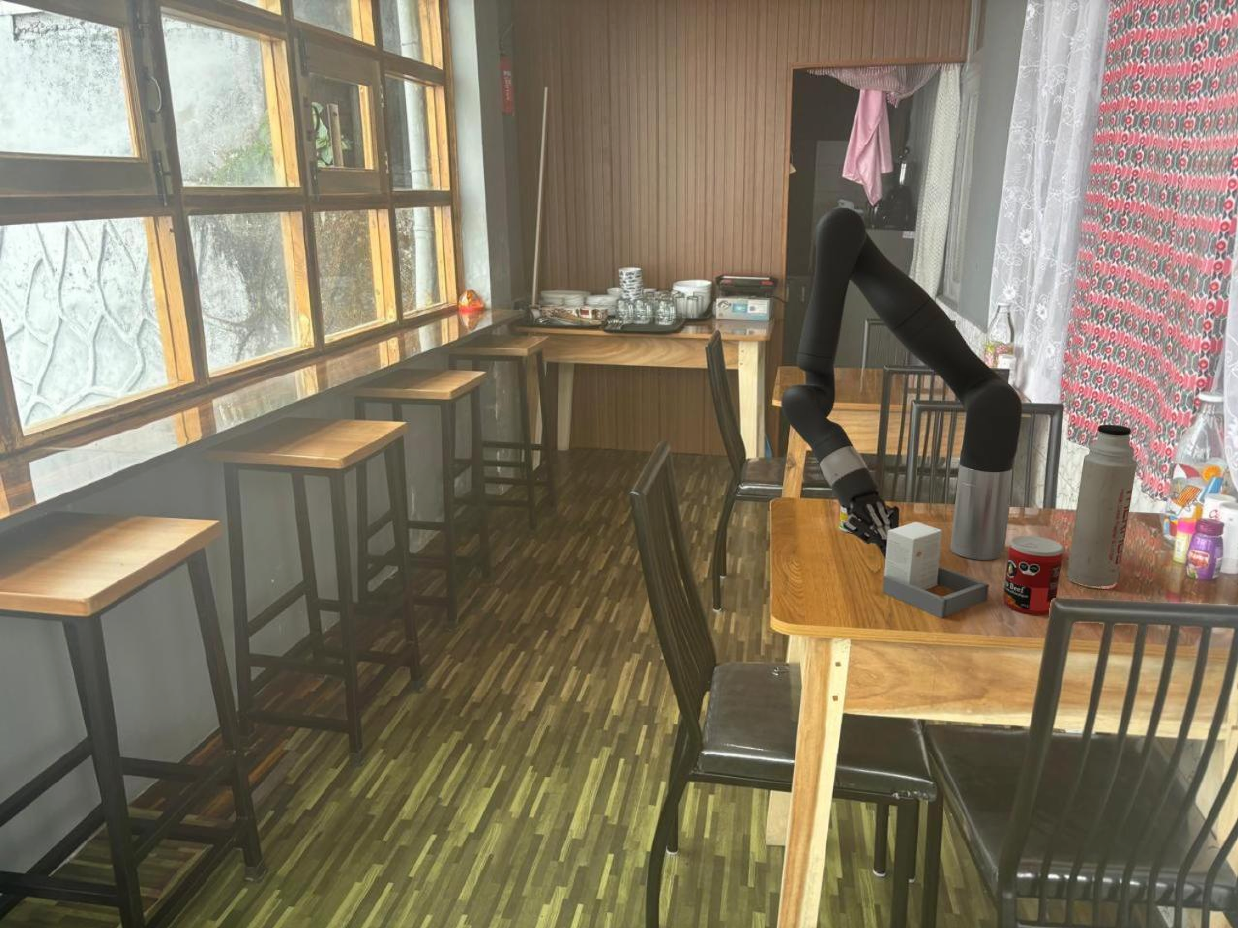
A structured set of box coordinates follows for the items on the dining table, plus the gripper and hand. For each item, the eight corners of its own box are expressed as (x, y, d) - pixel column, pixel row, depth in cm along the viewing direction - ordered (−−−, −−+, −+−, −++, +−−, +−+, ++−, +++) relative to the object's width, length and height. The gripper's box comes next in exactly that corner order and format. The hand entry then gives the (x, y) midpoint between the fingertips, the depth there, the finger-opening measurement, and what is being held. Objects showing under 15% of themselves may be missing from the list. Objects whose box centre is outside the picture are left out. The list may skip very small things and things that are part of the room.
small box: (911, 576, 161) (916, 520, 159) (937, 586, 157) (943, 529, 154) (881, 586, 157) (886, 529, 154) (908, 597, 153) (913, 538, 150)
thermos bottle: (1126, 584, 158) (1152, 429, 150) (1097, 593, 154) (1122, 434, 147) (1085, 568, 165) (1108, 419, 157) (1056, 576, 161) (1078, 424, 154)
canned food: (993, 597, 153) (1001, 536, 150) (1039, 595, 153) (1047, 534, 150) (1016, 616, 146) (1025, 553, 142) (1064, 614, 146) (1073, 551, 143)
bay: (927, 577, 161) (929, 561, 160) (986, 600, 151) (988, 584, 151) (882, 592, 155) (883, 576, 154) (941, 617, 145) (942, 600, 144)
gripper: (834, 471, 159) (883, 558, 152) (885, 461, 166) (934, 543, 159) (811, 492, 164) (857, 577, 158) (861, 481, 171) (907, 561, 165)
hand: (895, 560), depth 159 cm, fingers closed
